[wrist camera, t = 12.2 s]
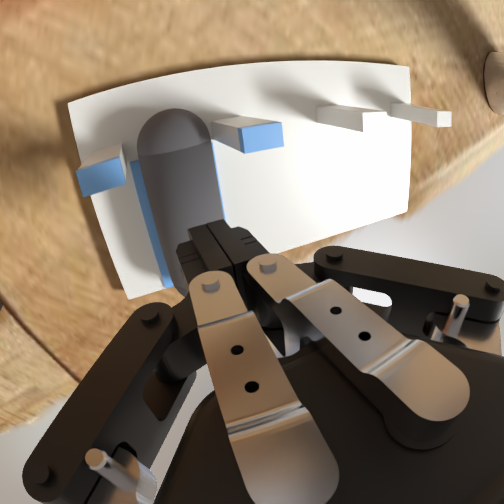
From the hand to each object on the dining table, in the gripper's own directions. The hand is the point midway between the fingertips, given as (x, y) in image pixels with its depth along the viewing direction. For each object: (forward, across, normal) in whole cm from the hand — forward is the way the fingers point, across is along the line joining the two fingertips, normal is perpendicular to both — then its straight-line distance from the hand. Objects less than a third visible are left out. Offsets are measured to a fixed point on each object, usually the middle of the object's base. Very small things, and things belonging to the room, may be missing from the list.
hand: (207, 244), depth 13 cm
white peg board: (+9, -8, 0) cm, 12 cm away
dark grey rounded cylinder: (+8, 0, +1) cm, 8 cm away
